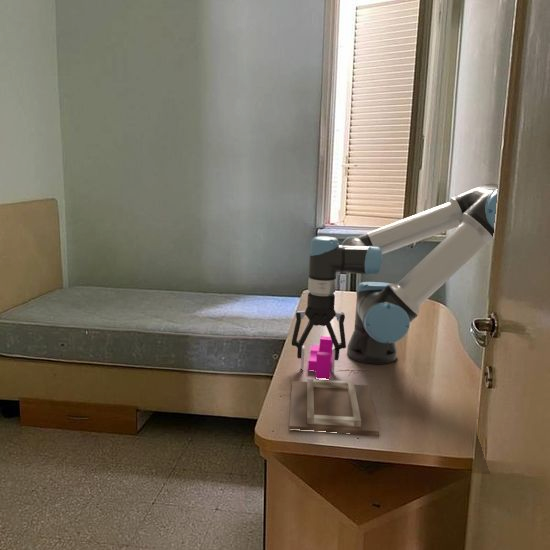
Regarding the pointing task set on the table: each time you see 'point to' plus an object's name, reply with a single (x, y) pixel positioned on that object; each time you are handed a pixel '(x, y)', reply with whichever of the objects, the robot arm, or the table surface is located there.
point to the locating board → (332, 407)
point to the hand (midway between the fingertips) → (317, 369)
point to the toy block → (321, 357)
